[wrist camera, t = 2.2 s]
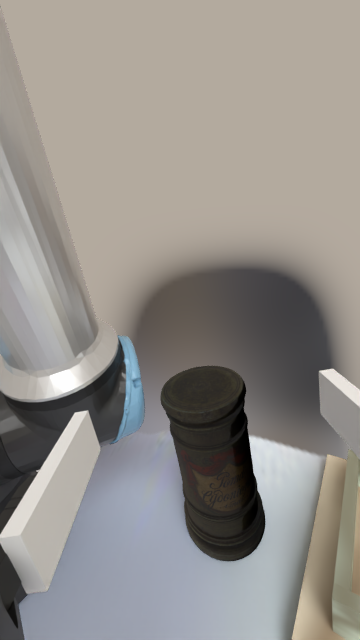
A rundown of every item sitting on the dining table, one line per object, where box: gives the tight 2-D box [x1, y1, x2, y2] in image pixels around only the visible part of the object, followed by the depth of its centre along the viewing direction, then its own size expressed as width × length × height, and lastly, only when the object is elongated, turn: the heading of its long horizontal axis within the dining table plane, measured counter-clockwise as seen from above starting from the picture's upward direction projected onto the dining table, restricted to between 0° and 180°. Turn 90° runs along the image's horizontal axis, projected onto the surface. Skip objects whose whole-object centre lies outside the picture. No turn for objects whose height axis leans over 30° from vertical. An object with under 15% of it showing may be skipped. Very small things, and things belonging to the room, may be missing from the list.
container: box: [161, 366, 265, 561], centre depth 28 cm, size 9×9×18 cm
